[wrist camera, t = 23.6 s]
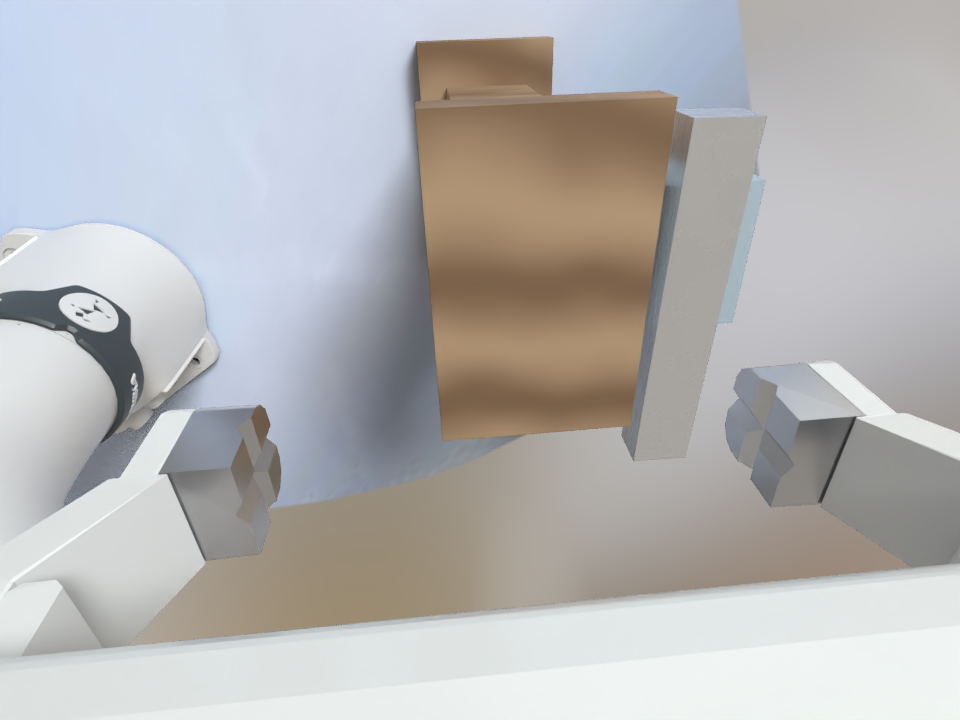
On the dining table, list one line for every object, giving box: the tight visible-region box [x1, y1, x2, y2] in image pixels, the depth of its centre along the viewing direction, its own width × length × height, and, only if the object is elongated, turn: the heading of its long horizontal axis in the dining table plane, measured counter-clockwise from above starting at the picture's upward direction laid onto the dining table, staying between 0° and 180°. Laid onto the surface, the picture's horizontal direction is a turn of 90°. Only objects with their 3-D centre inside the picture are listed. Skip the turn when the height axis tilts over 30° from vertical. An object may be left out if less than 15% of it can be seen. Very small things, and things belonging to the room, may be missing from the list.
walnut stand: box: [415, 37, 678, 441], centre depth 37 cm, size 18×10×26 cm, turn 2°
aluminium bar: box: [622, 108, 767, 461], centre depth 38 cm, size 24×4×3 cm, turn 1°
